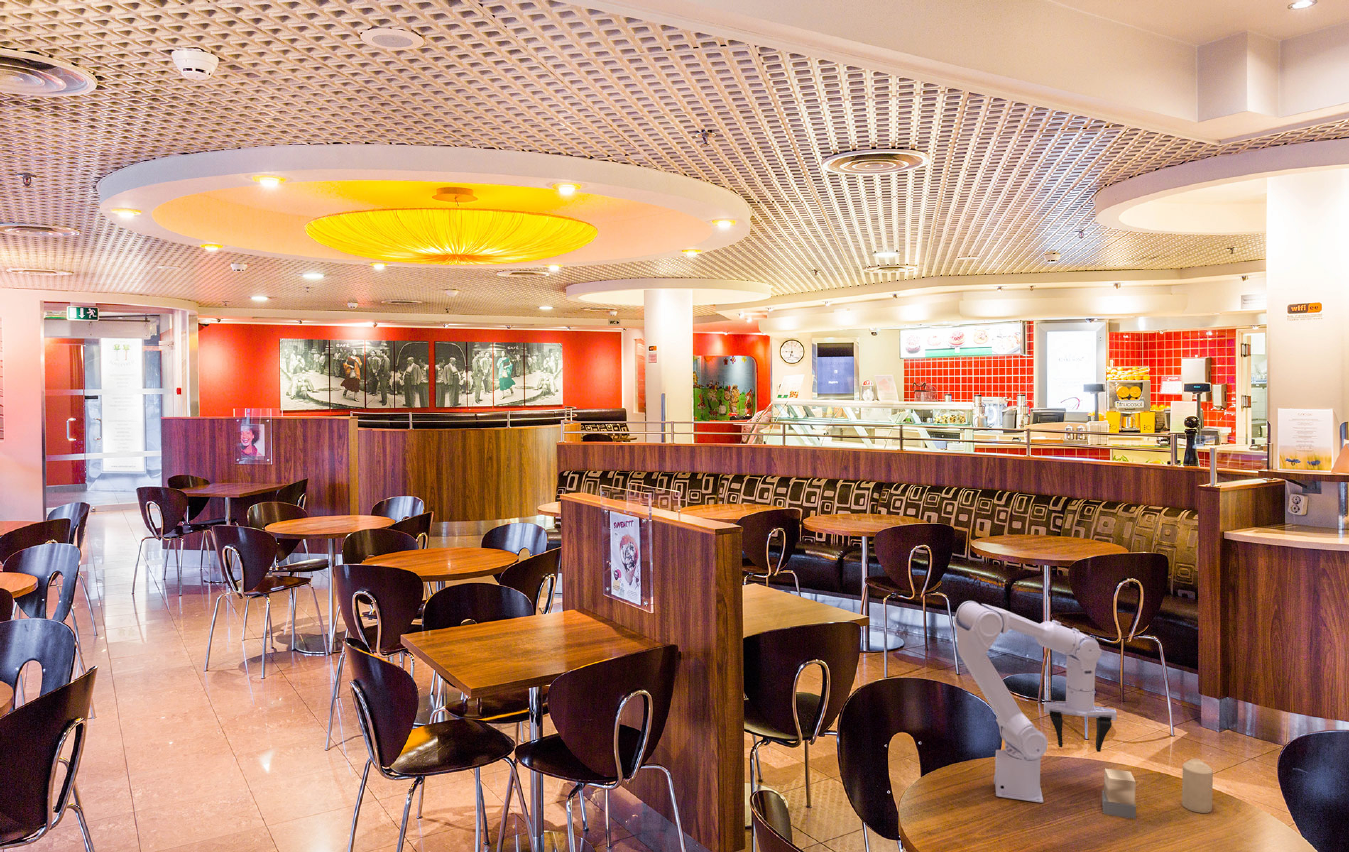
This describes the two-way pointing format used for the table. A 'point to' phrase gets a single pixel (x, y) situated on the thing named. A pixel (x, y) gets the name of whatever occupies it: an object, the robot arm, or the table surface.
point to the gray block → (1118, 808)
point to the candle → (1197, 786)
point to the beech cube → (1119, 786)
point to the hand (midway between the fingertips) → (1079, 747)
